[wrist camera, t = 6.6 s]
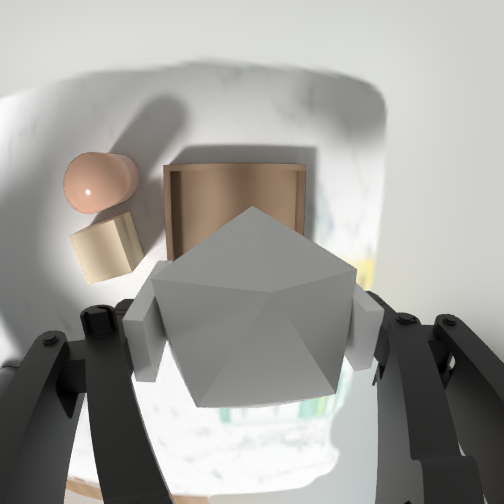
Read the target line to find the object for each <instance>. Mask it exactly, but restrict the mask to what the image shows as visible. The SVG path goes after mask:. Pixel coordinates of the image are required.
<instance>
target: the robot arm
mask: <svg viewBox="0 0 504 504" xmlns="http://www.w3.org/2000/svg"><path fill="white" fill-rule="evenodd" d="M171 263H172V261H158V262H157V264H156V265H155V267H154V269H153V270H152V272H151V273H150V275H149V277H148V278H147V280H146V281H145V283H144V285H143V286H142V288H141V289H140V291H139V293H138V294H137V296H136V298H135V299H124V300H123V301H121V302H119V303H118V304H117V305H116V307H115V308H113V307H112V306H109V305H95V306H91V307H89V308H86V309H85V310H83V311H82V312H81V314H80V318H81V322H82V326H83V330H84V333H85V340H80V341H72V342H68V341H67V338H66V335H65V334H64V333H63V332H61V331H48V332H45V333H43V334H42V335H40V336H39V337H38V338H37V339H36V340H35V342H34V343H33V345H32V346H31V348H30V350H29V351H28V353H27V354H26V356H25V358H24V359H23V361H22V363H21V364H20V366H19V368H15V367H10V366H7V367H3V368H1V369H0V504H64V496H65V488H66V481H67V475H68V469H69V463H70V458H71V453H72V448H73V443H74V438H75V433H76V429H77V424H78V420H79V416H80V412H81V408H82V404H83V400H84V396H85V393H87V401H88V412H89V422H90V430H91V438H92V445H93V451H94V457H95V463H96V468H97V474H98V478H99V483H100V488H101V492H102V496H103V501H104V504H175V502H174V499H173V497H172V495H171V493H170V490H169V488H168V486H167V483H166V481H165V479H164V476H163V474H162V471H161V469H160V466H159V464H158V461H157V458H156V456H155V453H154V450H153V448H152V445H151V442H150V439H149V436H148V433H147V430H146V427H145V424H144V421H143V418H142V415H141V411H140V408H139V405H138V401H137V398H136V394H135V391H134V387H133V383H132V380H131V376H132V373H133V370H134V374H135V378H136V381H141V382H155V381H156V377H157V373H158V369H159V366H160V362H161V358H162V354H163V351H164V347H165V344H166V340H167V337H166V334H165V331H164V327H163V323H162V320H161V316H160V313H159V309H158V305H157V301H156V297H155V294H154V290H153V286H152V282H151V278H152V277H153V276H155V275H156V274H157V273H159V272H160V271H161V270H163V269H164V268H166V267H167V266H168V265H170V264H171ZM352 302H353V304H352V311H351V317H350V324H349V330H348V335H347V341H346V347H345V352H344V355H345V356H346V358H347V360H348V361H349V363H350V365H351V366H352V368H353V369H354V371H358V370H364V369H369V368H371V365H372V362H373V357H375V358H376V360H377V361H378V362H379V363H378V366H377V370H376V373H375V377H374V380H373V383H372V385H373V386H374V385H375V383H376V382H377V399H378V467H377V487H376V501H375V504H485V503H484V496H485V498H486V500H487V503H488V504H504V363H503V362H502V361H501V360H500V359H499V358H498V357H497V356H496V355H495V354H494V353H493V352H492V351H491V350H490V348H489V347H488V346H487V345H486V344H485V343H484V342H483V341H482V340H481V339H480V338H479V337H478V336H477V335H476V334H475V333H474V332H473V331H472V330H471V329H470V328H469V327H468V326H467V325H466V324H465V323H464V322H463V321H462V320H460V319H459V318H457V317H455V316H454V315H450V314H441V315H438V316H437V317H436V320H435V323H434V325H421V323H420V321H419V319H418V318H417V317H415V316H413V315H411V314H408V313H396V312H395V311H394V310H393V309H392V308H391V307H390V306H389V305H388V304H386V303H385V302H384V301H383V300H382V299H381V298H380V297H379V296H378V295H376V294H374V293H372V292H370V291H364V290H363V289H362V288H361V287H360V286H359V285H358V284H357V283H356V282H355V290H354V295H353V296H352ZM453 356H454V358H455V365H454V367H453V369H452V368H451V367H450V365H449V364H450V362H451V359H452V357H453ZM458 442H459V444H460V446H461V448H462V450H463V452H464V454H465V456H462V455H461V453H460V449H459V444H458ZM483 494H484V496H483Z"/></svg>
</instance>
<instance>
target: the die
mask: <svg viewBox="0 0 504 504" xmlns="http://www.w3.org/2000/svg"><path fill="white" fill-rule="evenodd" d="M356 274H357V269H356V268H354V267H353V266H351V265H350V264H348V263H346V262H345V261H343V260H342V259H340V258H338V257H337V256H335V255H334V254H332V253H330V252H329V251H327V250H325V249H324V248H322V247H321V246H319V245H317V244H316V243H314V242H312V241H311V240H309V239H307V238H306V237H304V236H303V235H301V234H299V233H298V232H296V231H294V230H293V229H291V228H289V227H287V226H286V225H284V224H282V223H281V222H279V221H277V220H276V219H274V218H272V217H271V216H269V215H267V214H265V213H264V212H262V211H260V210H259V209H257V208H255V207H253V206H251V207H250V208H248V209H247V210H246V211H244V212H243V213H241V214H240V215H238V216H237V217H235V218H234V219H233V220H231V221H230V222H228V223H227V224H225V225H224V226H223V227H221V228H220V229H218V230H217V231H215V232H214V233H213V234H211V235H210V236H208V237H207V238H206V239H204V240H203V241H201V242H200V243H199V244H197V245H196V246H194V247H193V248H192V249H190V250H189V251H187V252H186V253H185V254H183V255H182V256H181V257H179V258H178V259H176V260H175V261H174V262H172V263H171V264H170V265H168V266H167V267H166V268H164V269H163V270H161V271H160V272H159V273H157V274H156V275H155V276H153V277H152V278H151V282H152V286H153V290H154V294H155V297H156V301H157V305H158V309H159V313H160V316H161V320H162V323H163V327H164V331H165V334H166V337H167V341H168V345H169V348H170V351H171V354H172V356H173V359H174V361H175V363H176V365H177V368H178V370H179V372H180V374H181V376H182V378H183V380H184V382H185V385H186V387H187V389H188V391H189V393H190V395H191V397H192V399H193V401H194V403H195V405H196V407H203V408H261V407H268V406H275V405H281V404H287V403H293V402H298V401H304V400H309V399H314V398H319V397H323V396H328V395H332V394H336V390H337V386H338V381H339V377H340V372H341V367H342V362H343V357H344V352H345V347H346V341H347V335H348V330H349V324H350V317H351V311H352V304H353V302H352V296H353V295H354V290H355V282H356Z"/></svg>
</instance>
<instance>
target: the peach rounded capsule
mask: <svg viewBox="0 0 504 504" xmlns="http://www.w3.org/2000/svg"><path fill="white" fill-rule="evenodd" d="M139 178H140V177H139V170H138V168H137V166H136V164H135V162H134V161H133V160H132V159H131V158H129V157H127V156H125V155H120V154H109V153H95V152H87V153H84V154H81V155H79V156H77V157H76V158H75V159H74V160H73V161H72V162H71V163H70V165H69V166H68V168H67V170H66V173H65V176H64V192H65V195H66V198H67V200H68V202H69V203H70V205H71V206H72V207H73V208H74V209H76V210H77V211H79V212H81V213H85V214H92V213H96V212H99V211H101V210H104V209H106V208H109V207H111V206H114V205H116V204H119V203H121V202H124V201H126V200H128V199H129V198H131V197H132V196H133V195H134V193H135V192H136V190H137V188H138V185H139Z"/></svg>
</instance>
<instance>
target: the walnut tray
mask: <svg viewBox="0 0 504 504" xmlns="http://www.w3.org/2000/svg"><path fill="white" fill-rule="evenodd" d="M163 174H164V209H165V229H166V246H167V259H168V261H172V262H174V261H175V260H176V259H178V258H179V257H181V256H182V255H183V254H185V253H186V252H187V251H189V250H190V249H192V248H193V247H194V246H196V245H197V244H199V243H200V242H201V241H203V240H204V239H206V238H207V237H208V236H210V235H211V234H213V233H214V232H215V231H217V230H218V229H220V228H221V227H223V226H224V225H225V224H227V223H228V222H230V221H231V220H233V219H234V218H235V217H237V216H238V215H240V214H241V213H243V212H244V211H246V210H247V209H248V208H250V207H251V206H253V207H255V208H257V209H259V210H260V211H262V212H264V213H265V214H267V215H269V216H271V217H272V218H274V219H276V220H277V221H279V222H281V223H282V224H284V225H286V226H287V227H289V228H291V229H293V230H294V231H296V232H298V233H299V234H301V235H304V212H305V182H306V165H304V164H277V163H203V164H176V165H163Z"/></svg>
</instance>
